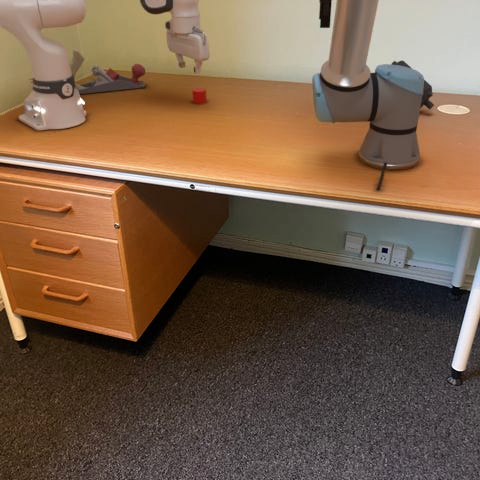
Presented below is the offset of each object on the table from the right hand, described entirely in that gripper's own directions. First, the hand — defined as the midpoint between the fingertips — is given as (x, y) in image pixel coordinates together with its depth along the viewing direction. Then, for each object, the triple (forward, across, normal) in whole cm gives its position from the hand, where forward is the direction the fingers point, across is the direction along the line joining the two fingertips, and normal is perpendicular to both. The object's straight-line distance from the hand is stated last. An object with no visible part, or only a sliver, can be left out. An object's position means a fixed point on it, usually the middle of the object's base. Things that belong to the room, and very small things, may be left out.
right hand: (324, 23), depth 154 cm
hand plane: (+28, -26, -78) cm, 87 cm away
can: (+28, -13, -40) cm, 51 cm away
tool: (+28, -8, +27) cm, 39 cm away
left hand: (+16, -10, -42) cm, 46 cm away
